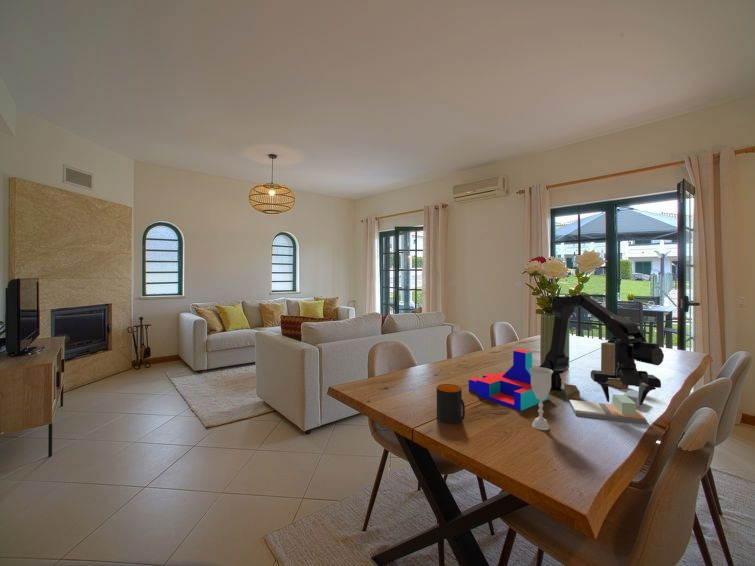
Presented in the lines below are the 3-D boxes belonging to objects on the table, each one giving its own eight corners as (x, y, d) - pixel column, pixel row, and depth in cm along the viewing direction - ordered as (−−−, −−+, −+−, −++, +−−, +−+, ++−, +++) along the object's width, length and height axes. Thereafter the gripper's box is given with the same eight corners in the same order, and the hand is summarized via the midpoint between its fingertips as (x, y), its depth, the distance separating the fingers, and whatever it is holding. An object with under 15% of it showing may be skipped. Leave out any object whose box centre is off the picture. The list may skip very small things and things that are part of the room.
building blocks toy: (492, 383, 150) (492, 342, 149) (548, 399, 129) (548, 353, 129) (464, 392, 139) (464, 348, 138) (520, 411, 118) (520, 360, 118)
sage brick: (622, 414, 111) (622, 402, 111) (612, 405, 119) (612, 394, 119) (636, 415, 110) (636, 403, 110) (625, 406, 118) (625, 395, 117)
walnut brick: (567, 400, 128) (567, 390, 128) (564, 393, 135) (564, 384, 135) (579, 402, 127) (579, 391, 126) (575, 395, 134) (575, 385, 134)
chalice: (532, 419, 111) (532, 365, 111) (555, 425, 107) (555, 369, 106) (526, 427, 105) (526, 370, 105) (549, 433, 101) (550, 374, 101)
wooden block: (628, 387, 141) (629, 345, 141) (622, 389, 140) (622, 346, 139) (607, 381, 150) (607, 341, 149) (600, 383, 148) (600, 342, 148)
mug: (453, 430, 104) (453, 397, 104) (431, 416, 115) (431, 386, 114) (474, 425, 107) (474, 393, 107) (451, 411, 118) (451, 382, 118)
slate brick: (623, 405, 123) (623, 394, 123) (629, 400, 128) (629, 389, 128) (636, 408, 120) (636, 397, 120) (642, 403, 125) (642, 392, 125)
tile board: (575, 415, 114) (575, 410, 114) (569, 402, 125) (569, 398, 125) (646, 424, 107) (646, 419, 107) (633, 410, 118) (633, 405, 118)
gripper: (598, 361, 110) (598, 408, 110) (669, 366, 103) (668, 416, 103) (590, 354, 120) (590, 397, 120) (654, 358, 113) (653, 403, 114)
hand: (623, 403), depth 114 cm, fingers open, 9 cm apart
